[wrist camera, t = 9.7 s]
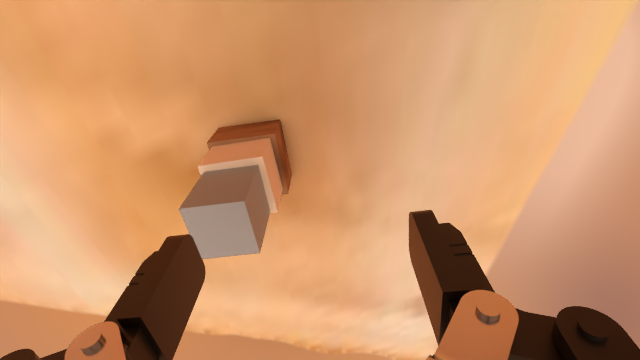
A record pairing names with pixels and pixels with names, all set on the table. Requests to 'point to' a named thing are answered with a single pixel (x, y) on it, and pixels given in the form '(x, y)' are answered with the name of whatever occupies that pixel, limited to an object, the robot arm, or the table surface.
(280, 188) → the tower top
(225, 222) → the slate block
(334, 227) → the table surface
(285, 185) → the tower base
